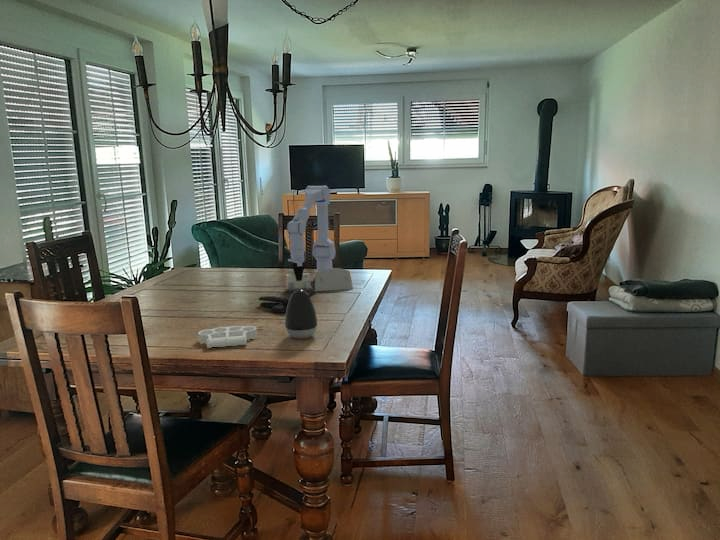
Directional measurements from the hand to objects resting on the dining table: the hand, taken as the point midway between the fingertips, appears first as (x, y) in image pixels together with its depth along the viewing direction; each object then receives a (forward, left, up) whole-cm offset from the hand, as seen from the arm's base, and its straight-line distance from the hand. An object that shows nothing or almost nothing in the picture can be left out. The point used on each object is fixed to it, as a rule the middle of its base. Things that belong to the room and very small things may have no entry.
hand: (298, 279), depth 236 cm
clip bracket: (0, 0, -4) cm, 4 cm away
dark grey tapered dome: (+65, -7, -5) cm, 66 cm away
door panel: (0, 0, -3) cm, 3 cm away
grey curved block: (+2, +15, -5) cm, 16 cm away
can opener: (+28, -13, -5) cm, 31 cm away
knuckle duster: (+62, -30, -5) cm, 69 cm away
